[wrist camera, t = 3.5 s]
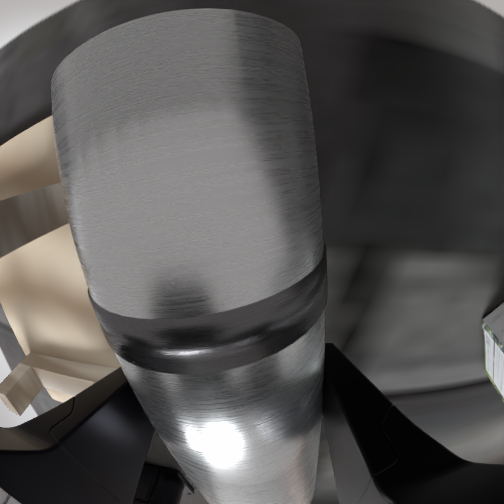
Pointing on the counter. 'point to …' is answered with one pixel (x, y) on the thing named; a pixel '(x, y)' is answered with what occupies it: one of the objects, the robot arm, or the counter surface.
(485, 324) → the syrup box
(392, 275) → the counter surface
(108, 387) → the robot arm
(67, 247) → the collar stand
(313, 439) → the metal tube
